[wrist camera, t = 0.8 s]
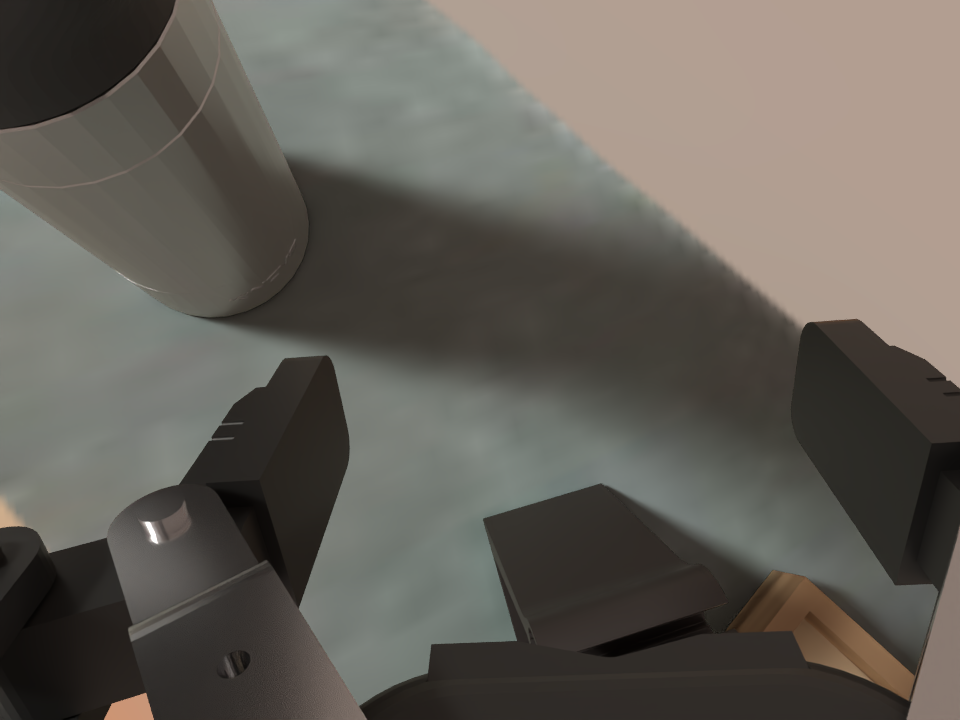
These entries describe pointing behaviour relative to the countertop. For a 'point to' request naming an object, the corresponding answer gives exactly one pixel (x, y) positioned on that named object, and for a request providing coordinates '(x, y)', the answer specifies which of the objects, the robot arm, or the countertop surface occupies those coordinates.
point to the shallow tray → (821, 631)
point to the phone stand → (596, 577)
